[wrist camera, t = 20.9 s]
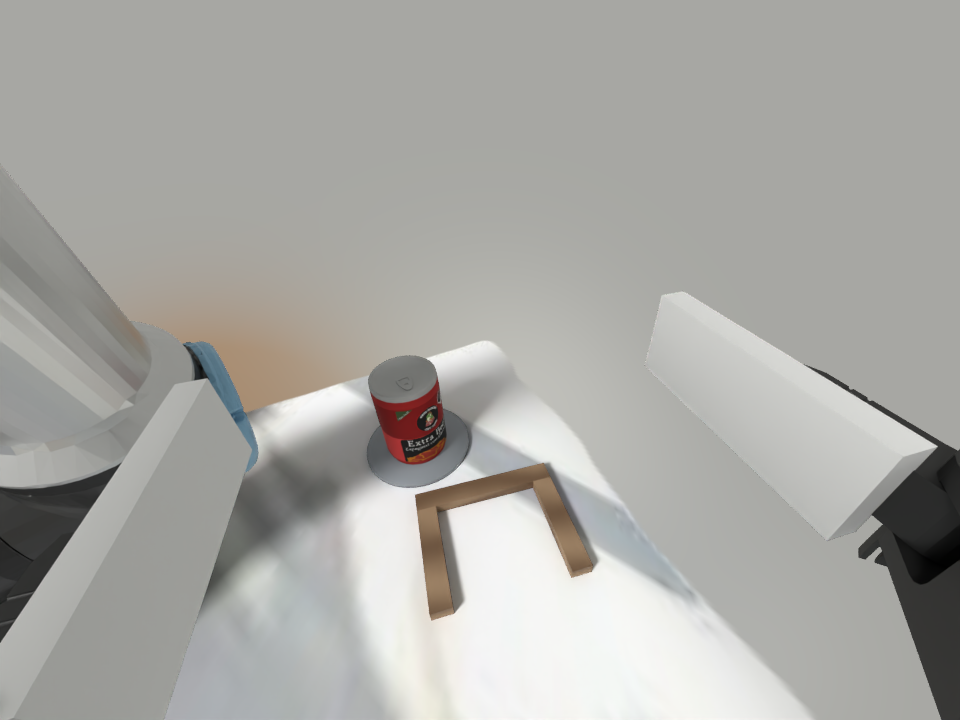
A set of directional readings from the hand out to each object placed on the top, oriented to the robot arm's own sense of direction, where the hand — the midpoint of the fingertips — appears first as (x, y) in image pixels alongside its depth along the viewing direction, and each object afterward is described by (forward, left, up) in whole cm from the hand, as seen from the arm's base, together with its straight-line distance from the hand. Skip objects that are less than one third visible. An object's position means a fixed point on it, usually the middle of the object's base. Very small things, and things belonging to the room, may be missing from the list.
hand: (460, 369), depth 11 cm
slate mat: (-19, +17, -30) cm, 40 cm away
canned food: (-19, +17, -30) cm, 39 cm away
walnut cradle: (-5, +11, -30) cm, 32 cm away
